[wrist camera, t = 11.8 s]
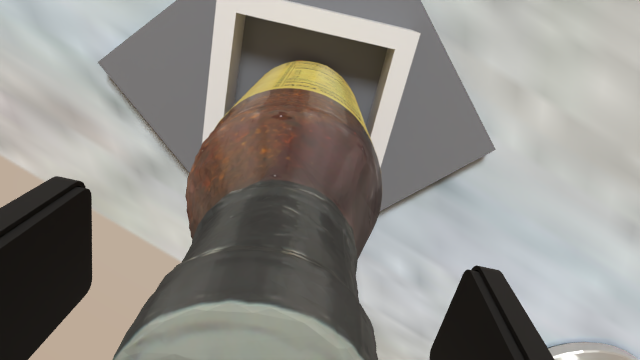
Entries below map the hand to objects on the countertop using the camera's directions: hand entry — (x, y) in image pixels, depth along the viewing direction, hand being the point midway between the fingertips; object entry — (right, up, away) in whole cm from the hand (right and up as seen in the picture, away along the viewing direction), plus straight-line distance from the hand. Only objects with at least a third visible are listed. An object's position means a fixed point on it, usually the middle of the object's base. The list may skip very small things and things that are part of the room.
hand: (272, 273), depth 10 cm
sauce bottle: (0, +7, +14) cm, 16 cm away
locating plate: (0, +7, +15) cm, 17 cm away
